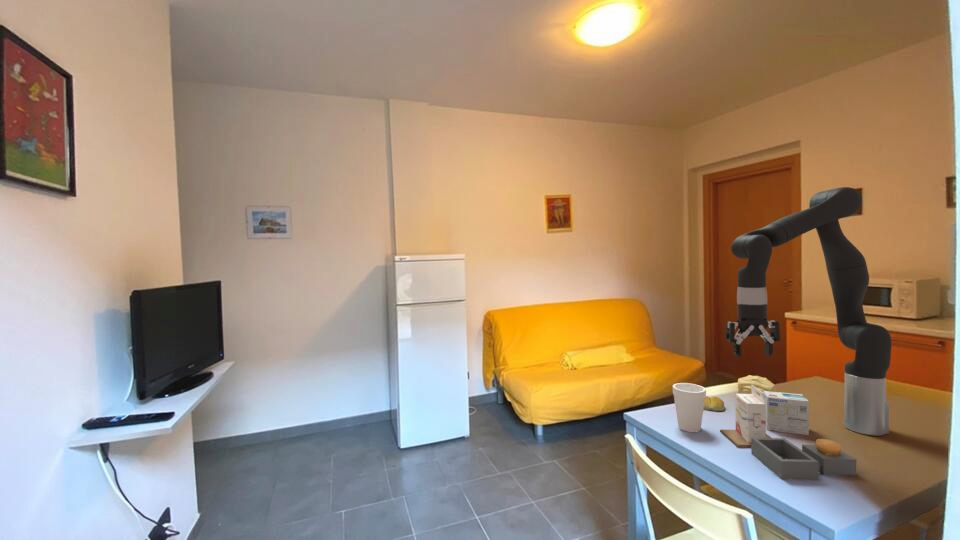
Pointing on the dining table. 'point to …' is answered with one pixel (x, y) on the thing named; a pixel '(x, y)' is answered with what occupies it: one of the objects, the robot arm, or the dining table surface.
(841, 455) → the cartridge dock
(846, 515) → the dining table surface
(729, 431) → the walnut pad
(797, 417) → the light bulb box
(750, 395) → the ink cartridge box
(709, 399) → the bread roll
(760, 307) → the robot arm
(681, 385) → the foam cup
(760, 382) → the sculpture
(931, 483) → the dining table surface
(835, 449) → the orange dome button
